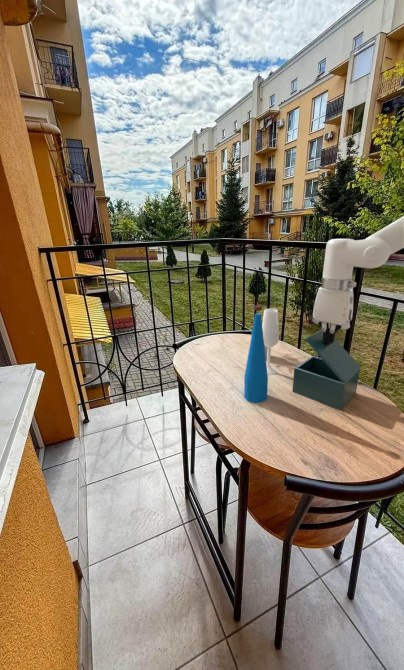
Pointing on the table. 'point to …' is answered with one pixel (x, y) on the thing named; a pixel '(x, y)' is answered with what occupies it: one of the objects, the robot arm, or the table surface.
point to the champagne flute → (270, 334)
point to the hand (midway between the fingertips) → (327, 343)
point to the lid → (334, 356)
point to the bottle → (256, 364)
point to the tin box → (323, 383)
